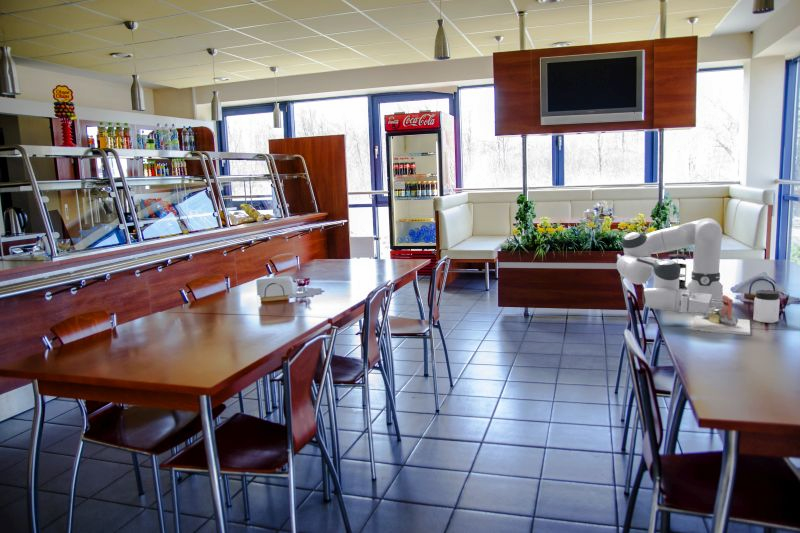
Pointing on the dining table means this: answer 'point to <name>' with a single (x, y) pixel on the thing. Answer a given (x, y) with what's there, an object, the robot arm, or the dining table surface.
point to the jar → (766, 306)
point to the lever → (725, 308)
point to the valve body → (718, 318)
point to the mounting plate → (721, 326)
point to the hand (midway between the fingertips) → (724, 304)
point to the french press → (680, 256)
